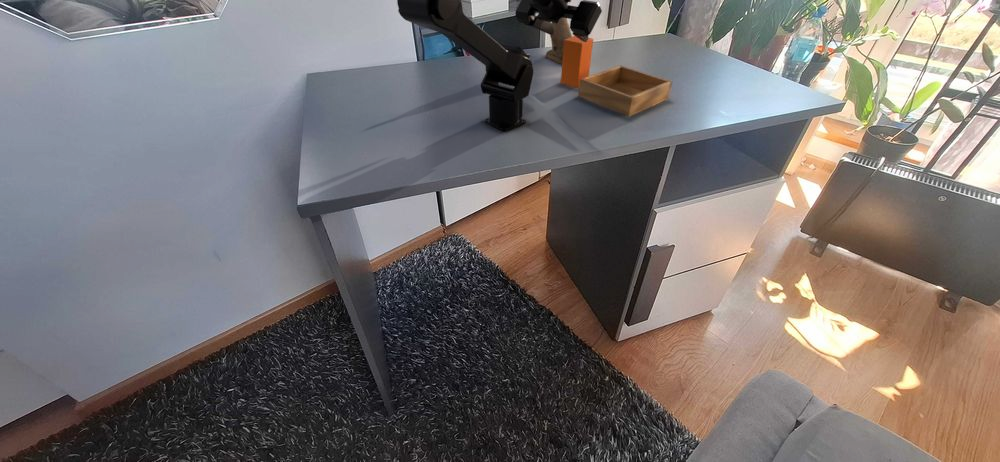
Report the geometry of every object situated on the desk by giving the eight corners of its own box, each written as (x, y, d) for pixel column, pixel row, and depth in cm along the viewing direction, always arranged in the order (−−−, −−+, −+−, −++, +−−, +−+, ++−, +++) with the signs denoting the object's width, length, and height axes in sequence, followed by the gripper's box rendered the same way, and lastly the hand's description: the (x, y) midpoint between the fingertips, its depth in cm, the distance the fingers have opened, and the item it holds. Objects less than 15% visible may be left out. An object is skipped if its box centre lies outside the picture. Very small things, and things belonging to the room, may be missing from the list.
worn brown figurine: (544, 65, 124) (540, -3, 115) (559, 62, 126) (556, -6, 117) (568, 68, 115) (565, -6, 106) (584, 64, 116) (582, -9, 108)
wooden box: (627, 119, 89) (632, 98, 86) (577, 99, 98) (580, 78, 95) (667, 102, 96) (672, 81, 93) (617, 84, 105) (620, 65, 102)
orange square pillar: (576, 90, 102) (582, 43, 95) (560, 85, 105) (564, 39, 97) (587, 84, 105) (593, 38, 98) (571, 80, 107) (575, 35, 100)
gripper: (604, -46, 76) (622, 10, 89) (524, -53, 85) (552, -1, 99) (576, 9, 76) (598, 57, 90) (500, -4, 86) (530, 41, 99)
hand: (569, 36), depth 94 cm, fingers open, 9 cm apart
